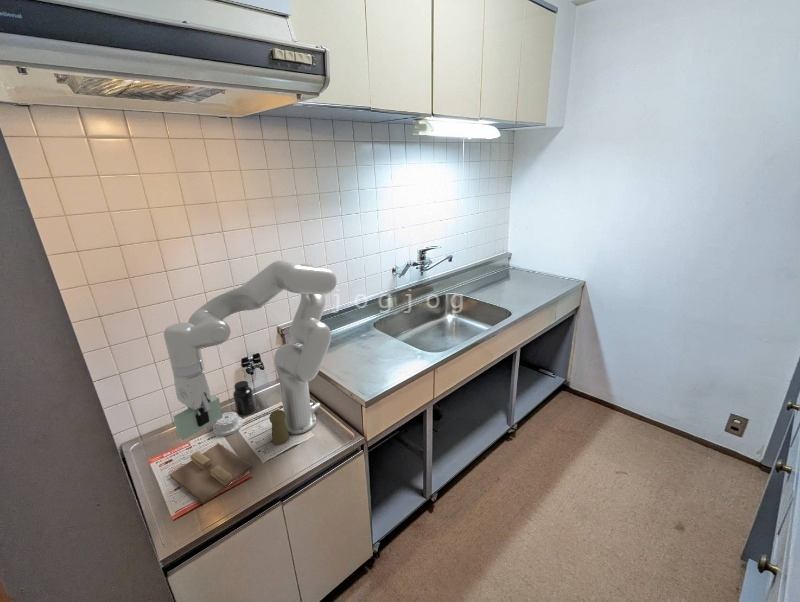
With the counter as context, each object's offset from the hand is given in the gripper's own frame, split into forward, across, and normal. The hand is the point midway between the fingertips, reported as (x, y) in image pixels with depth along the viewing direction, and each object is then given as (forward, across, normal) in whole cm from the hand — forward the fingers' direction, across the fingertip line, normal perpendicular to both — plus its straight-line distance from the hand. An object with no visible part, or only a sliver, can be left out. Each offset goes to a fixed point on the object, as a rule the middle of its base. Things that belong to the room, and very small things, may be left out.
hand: (200, 421), depth 108 cm
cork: (+19, +6, +22) cm, 30 cm away
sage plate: (+2, 0, 0) cm, 2 cm away
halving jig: (+19, 0, 0) cm, 19 cm away
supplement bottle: (+19, -18, +25) cm, 37 cm away
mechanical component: (+20, -15, +16) cm, 29 cm away
